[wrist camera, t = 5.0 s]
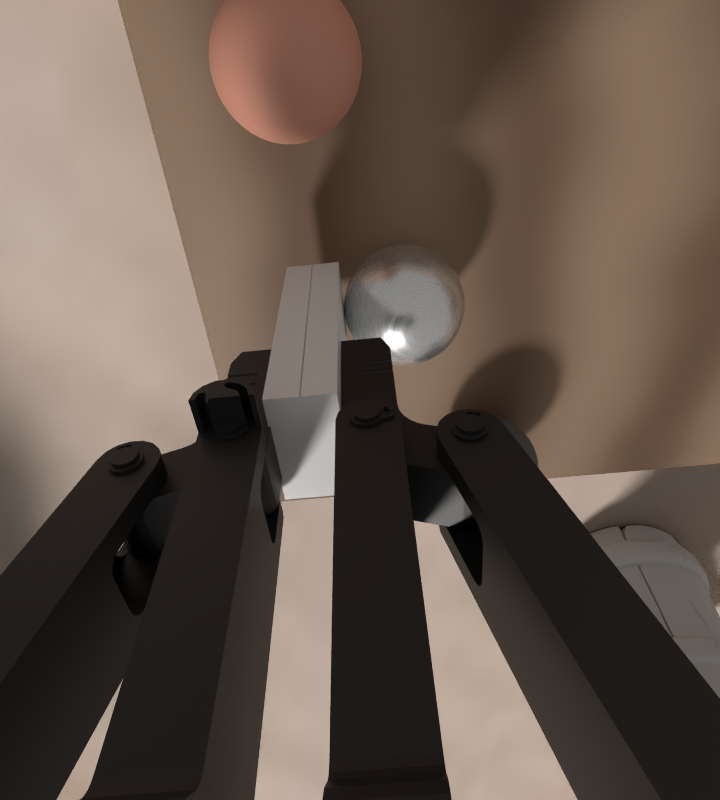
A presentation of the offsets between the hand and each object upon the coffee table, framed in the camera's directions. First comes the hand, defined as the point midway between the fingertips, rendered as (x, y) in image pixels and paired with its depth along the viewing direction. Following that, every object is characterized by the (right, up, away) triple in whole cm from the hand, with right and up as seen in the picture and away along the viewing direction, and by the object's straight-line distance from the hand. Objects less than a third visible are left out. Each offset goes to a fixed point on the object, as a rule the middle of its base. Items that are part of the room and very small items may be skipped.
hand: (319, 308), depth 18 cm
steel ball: (+2, 0, 0) cm, 3 cm away
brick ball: (0, +5, -4) cm, 6 cm away
